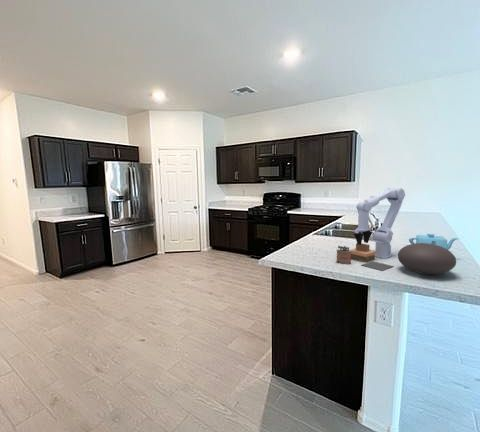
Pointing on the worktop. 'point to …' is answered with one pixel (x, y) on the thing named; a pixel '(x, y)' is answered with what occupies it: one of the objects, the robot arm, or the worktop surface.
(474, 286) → the worktop surface
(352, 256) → the box
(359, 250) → the lid
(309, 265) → the worktop surface
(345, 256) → the ornate red tin
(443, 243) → the teakettle
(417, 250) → the smooth stone
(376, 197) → the robot arm
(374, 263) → the mat
